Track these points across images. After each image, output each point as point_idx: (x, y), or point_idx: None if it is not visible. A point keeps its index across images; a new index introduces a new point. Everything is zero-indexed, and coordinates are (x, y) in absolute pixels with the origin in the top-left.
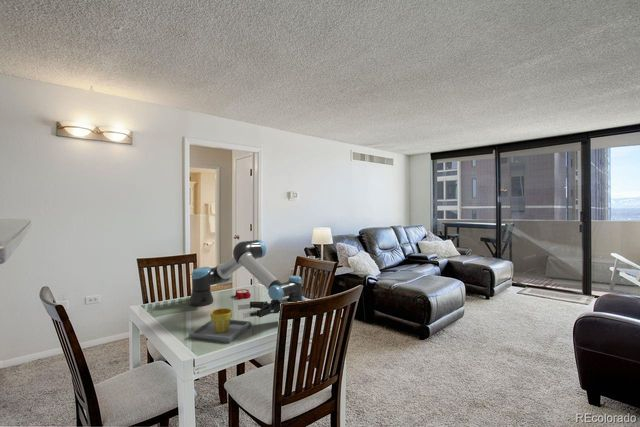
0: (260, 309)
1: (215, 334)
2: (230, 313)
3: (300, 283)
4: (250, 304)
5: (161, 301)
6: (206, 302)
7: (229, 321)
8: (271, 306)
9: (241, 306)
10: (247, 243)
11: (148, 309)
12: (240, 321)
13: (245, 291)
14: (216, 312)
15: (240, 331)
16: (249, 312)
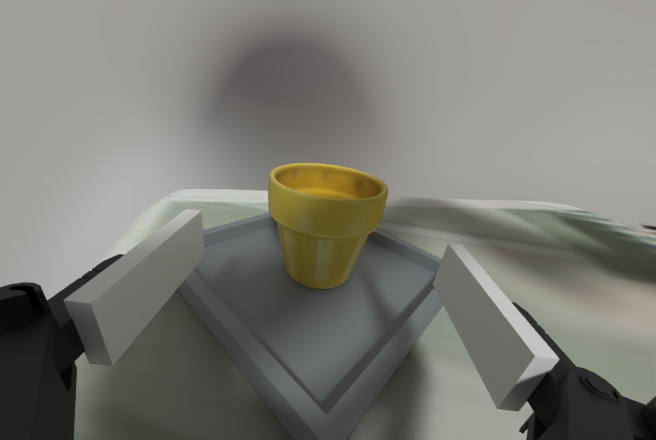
0: (24, 428)
1: (280, 245)
2: (284, 194)
3: None
4: (555, 390)
5: (651, 234)
6: None
7: (298, 248)
8: None
9: (455, 280)
10: None
11: (559, 212)
12: (374, 359)
13: None
14: (369, 192)
15: (209, 318)
16: (148, 245)
